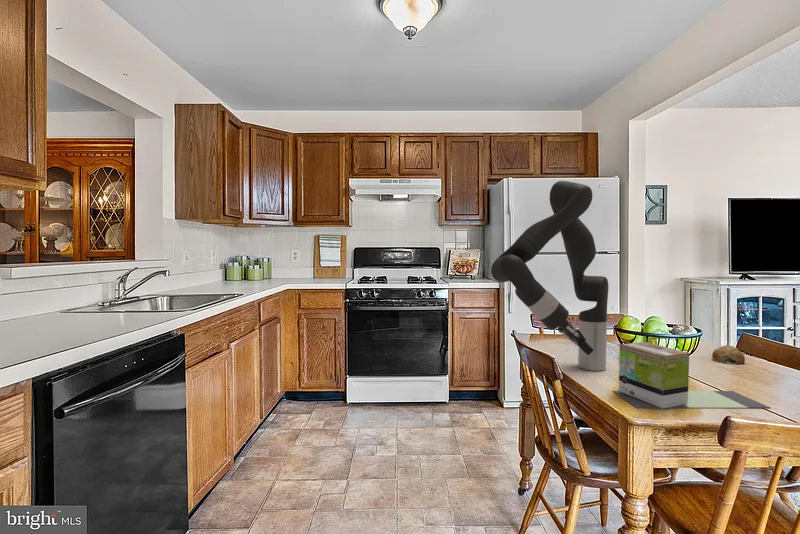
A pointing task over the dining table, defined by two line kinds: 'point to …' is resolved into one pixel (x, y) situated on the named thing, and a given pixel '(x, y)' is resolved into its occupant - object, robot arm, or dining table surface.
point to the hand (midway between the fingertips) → (590, 352)
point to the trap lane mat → (703, 400)
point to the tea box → (654, 374)
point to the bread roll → (728, 355)
